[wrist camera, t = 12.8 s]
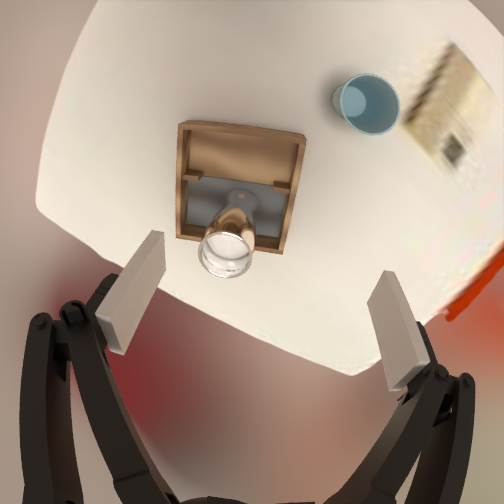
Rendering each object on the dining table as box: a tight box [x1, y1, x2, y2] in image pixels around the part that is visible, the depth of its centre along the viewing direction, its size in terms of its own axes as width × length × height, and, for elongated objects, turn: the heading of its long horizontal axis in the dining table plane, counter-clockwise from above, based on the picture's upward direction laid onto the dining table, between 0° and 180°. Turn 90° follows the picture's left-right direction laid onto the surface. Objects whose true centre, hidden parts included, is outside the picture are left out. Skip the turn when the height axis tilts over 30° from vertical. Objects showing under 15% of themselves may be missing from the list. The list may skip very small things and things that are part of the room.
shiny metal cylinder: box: [198, 189, 258, 278], centre depth 38 cm, size 7×7×15 cm
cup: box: [332, 74, 400, 135], centre depth 30 cm, size 8×8×10 cm
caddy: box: [176, 121, 307, 255], centre depth 41 cm, size 19×18×4 cm
